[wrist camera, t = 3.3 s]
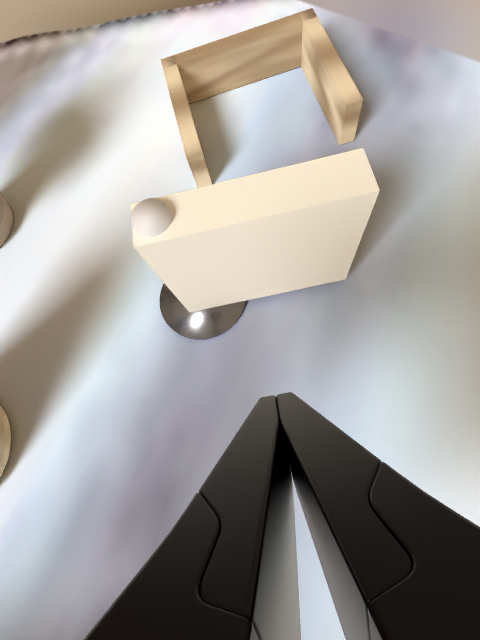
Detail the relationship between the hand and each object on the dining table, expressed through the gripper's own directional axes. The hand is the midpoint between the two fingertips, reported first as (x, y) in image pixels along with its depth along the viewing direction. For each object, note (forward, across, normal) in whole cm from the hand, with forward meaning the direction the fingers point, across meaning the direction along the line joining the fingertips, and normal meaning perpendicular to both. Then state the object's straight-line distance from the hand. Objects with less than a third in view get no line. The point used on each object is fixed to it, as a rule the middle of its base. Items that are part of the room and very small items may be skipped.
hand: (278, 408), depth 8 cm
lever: (+15, 0, -2) cm, 16 cm away
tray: (+27, +3, +8) cm, 28 cm away
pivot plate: (+16, -4, -2) cm, 16 cm away
